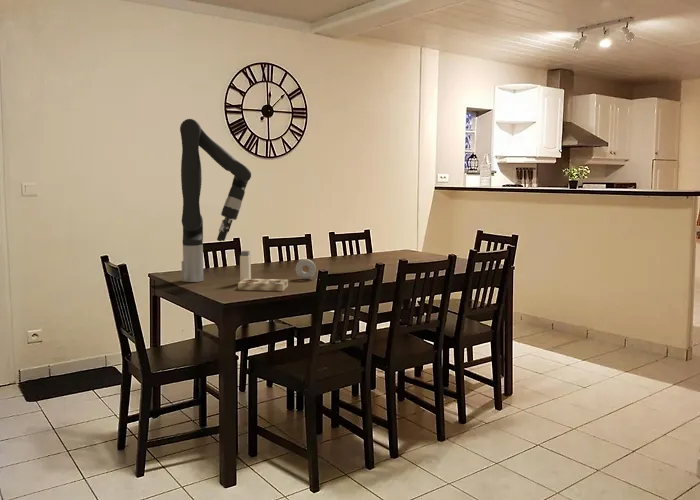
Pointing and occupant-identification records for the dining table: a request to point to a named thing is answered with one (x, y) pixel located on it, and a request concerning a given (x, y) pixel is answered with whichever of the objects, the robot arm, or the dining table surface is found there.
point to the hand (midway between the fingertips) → (220, 240)
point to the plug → (245, 265)
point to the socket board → (263, 284)
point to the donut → (301, 273)
